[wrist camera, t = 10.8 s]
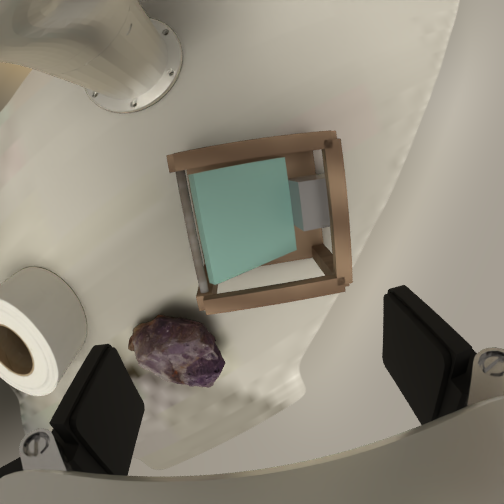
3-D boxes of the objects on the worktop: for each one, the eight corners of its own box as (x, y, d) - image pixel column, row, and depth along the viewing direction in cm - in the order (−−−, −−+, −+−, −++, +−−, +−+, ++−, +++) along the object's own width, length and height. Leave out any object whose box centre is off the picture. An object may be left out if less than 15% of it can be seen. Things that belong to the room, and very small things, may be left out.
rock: (203, 363, 45) (231, 312, 42) (208, 406, 37) (241, 353, 34) (127, 340, 41) (148, 283, 38) (119, 383, 33) (139, 322, 30)
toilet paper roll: (86, 368, 43) (61, 412, 33) (12, 335, 41) (-20, 369, 31) (91, 285, 39) (55, 323, 28) (8, 253, 37) (-36, 279, 26)
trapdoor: (188, 174, 27) (193, 174, 26) (278, 157, 33) (284, 157, 32) (209, 282, 30) (214, 285, 30) (290, 248, 36) (296, 249, 36)
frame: (184, 155, 34) (163, 155, 24) (309, 136, 35) (339, 129, 24) (207, 272, 39) (198, 316, 28) (322, 254, 39) (352, 289, 28)
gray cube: (298, 182, 30) (343, 175, 31) (283, 179, 35) (324, 173, 35) (303, 231, 32) (347, 222, 32) (289, 222, 36) (328, 214, 37)
